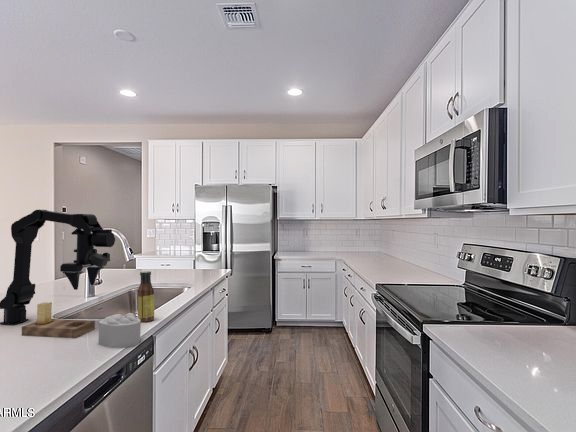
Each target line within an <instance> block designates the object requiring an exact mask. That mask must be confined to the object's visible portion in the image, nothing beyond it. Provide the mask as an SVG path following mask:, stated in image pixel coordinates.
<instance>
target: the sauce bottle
mask: <svg viewBox="0 0 576 432" xmlns="http://www.w3.org/2000/svg"><path fill="white" fill-rule="evenodd" d="M139 273H140V274H139V276H140V284H139V286H138V288H137V317H138V318H139V319H140V320H141V323H148V322H152V321H154V319H155V291H154V287H153V284H152V279H151V275H152V271H150V270H142V271H140V272H139Z"/></svg>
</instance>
